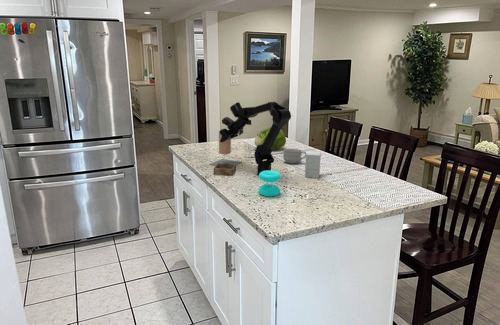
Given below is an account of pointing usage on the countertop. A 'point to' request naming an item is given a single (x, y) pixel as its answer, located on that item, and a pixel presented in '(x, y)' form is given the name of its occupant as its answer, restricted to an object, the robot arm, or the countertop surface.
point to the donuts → (269, 188)
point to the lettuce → (277, 143)
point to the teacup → (293, 155)
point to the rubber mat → (225, 162)
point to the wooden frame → (225, 169)
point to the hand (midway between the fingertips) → (222, 141)
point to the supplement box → (312, 164)
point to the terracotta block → (224, 146)
